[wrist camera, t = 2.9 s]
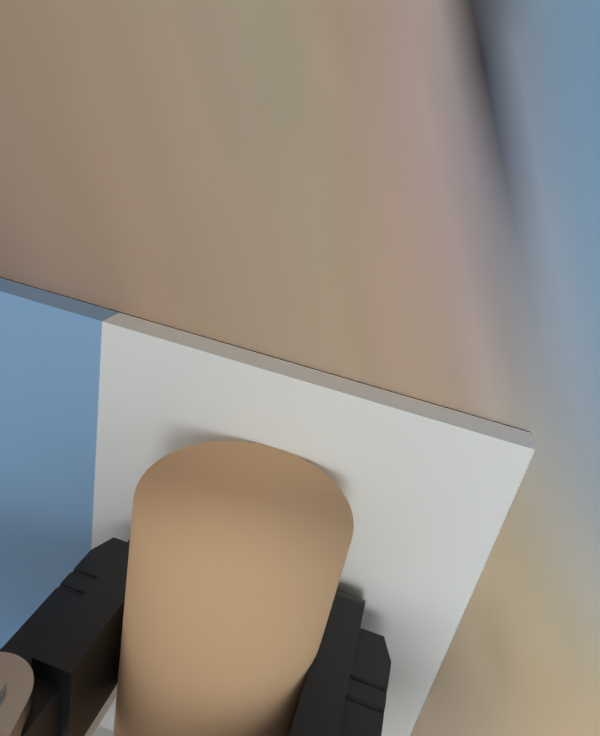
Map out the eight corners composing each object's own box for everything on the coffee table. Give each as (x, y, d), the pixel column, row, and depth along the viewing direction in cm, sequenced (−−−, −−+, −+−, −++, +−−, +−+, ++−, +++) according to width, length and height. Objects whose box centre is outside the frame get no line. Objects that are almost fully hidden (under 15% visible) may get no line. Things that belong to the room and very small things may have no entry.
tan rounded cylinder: (191, 421, 11) (83, 537, 8) (368, 476, 10) (329, 624, 7) (147, 763, 15) (68, 924, 12) (267, 813, 15) (217, 994, 12)
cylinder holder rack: (-170, 228, 12) (-492, 273, 8) (531, 432, 10) (581, 644, 6) (-102, 662, 18) (-268, 816, 14) (349, 858, 16) (308, 1114, 11)
